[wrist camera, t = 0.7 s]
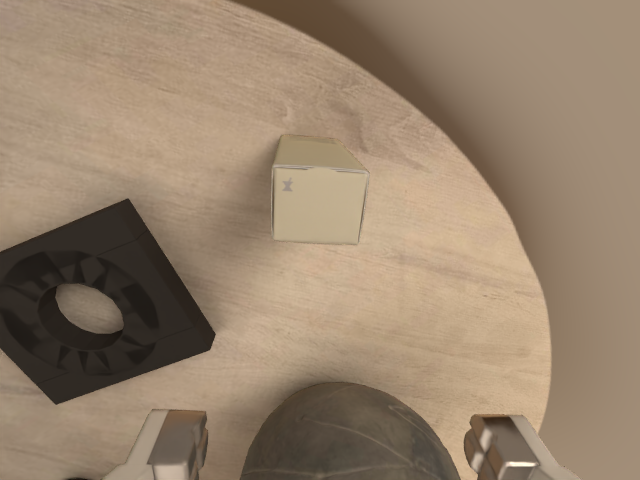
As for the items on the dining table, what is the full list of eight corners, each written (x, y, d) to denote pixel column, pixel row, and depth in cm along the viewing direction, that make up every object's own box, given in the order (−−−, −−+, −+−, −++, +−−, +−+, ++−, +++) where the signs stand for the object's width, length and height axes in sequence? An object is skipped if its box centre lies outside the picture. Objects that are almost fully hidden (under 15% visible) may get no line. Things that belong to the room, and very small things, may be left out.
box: (279, 184, 31) (264, 244, 19) (280, 132, 29) (265, 162, 17) (338, 188, 31) (360, 249, 19) (344, 137, 29) (371, 170, 18)
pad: (-40, 268, 32) (-66, 282, 30) (128, 198, 31) (114, 207, 28) (70, 386, 39) (55, 405, 36) (216, 334, 37) (210, 350, 34)
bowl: (398, 475, 47) (437, 633, 33) (241, 461, 45) (213, 626, 31) (451, 355, 39) (531, 498, 26) (264, 329, 37) (241, 473, 23)
